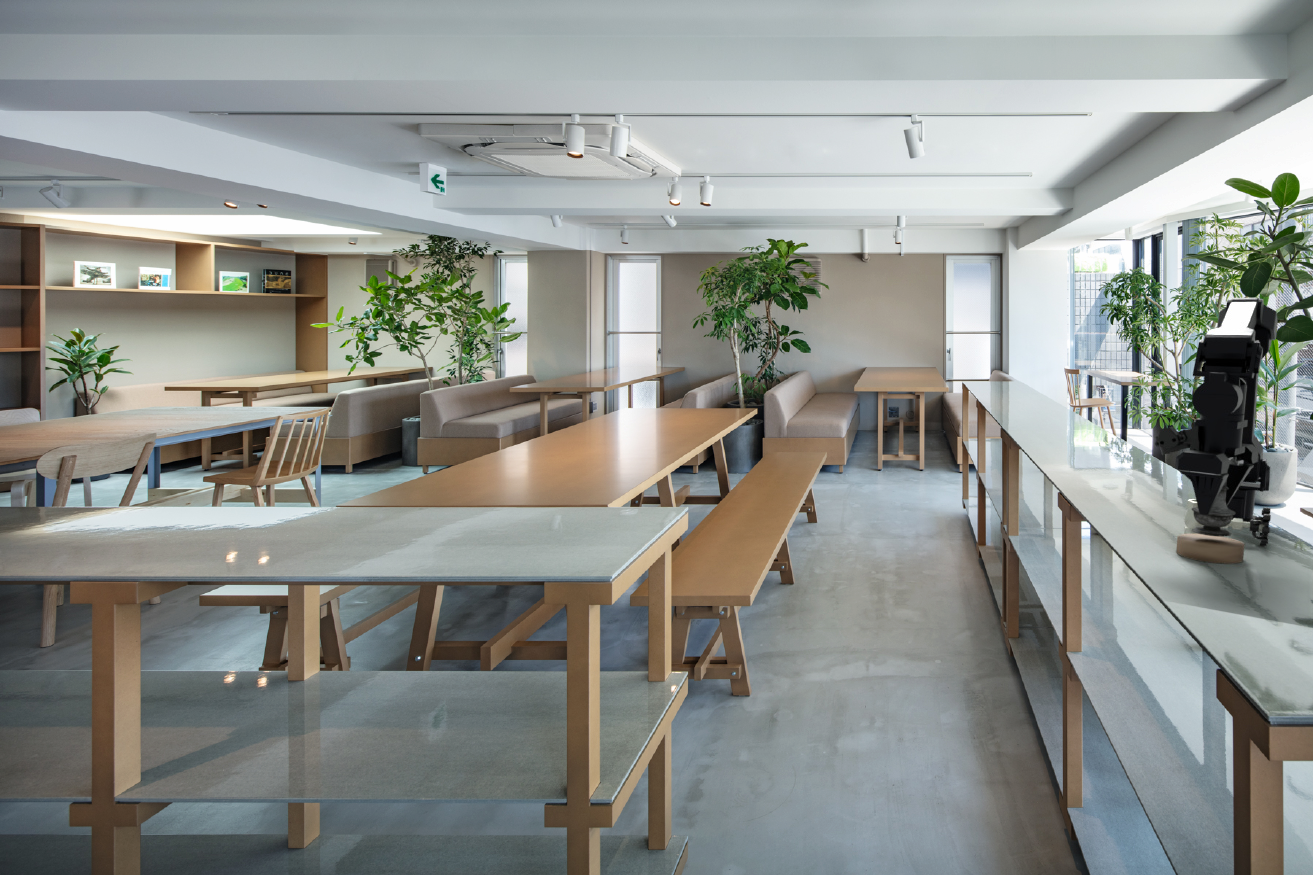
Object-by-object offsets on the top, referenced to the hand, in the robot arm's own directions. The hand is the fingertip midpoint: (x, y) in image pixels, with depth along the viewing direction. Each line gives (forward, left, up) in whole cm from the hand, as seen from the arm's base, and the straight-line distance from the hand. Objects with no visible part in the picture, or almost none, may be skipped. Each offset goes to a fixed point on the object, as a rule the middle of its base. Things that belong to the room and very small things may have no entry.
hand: (1213, 510), depth 134 cm
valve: (-13, +1, -8) cm, 15 cm away
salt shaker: (0, 0, -4) cm, 4 cm away
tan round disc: (0, 0, -7) cm, 7 cm away
